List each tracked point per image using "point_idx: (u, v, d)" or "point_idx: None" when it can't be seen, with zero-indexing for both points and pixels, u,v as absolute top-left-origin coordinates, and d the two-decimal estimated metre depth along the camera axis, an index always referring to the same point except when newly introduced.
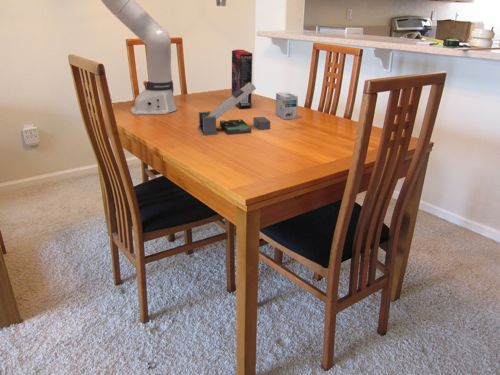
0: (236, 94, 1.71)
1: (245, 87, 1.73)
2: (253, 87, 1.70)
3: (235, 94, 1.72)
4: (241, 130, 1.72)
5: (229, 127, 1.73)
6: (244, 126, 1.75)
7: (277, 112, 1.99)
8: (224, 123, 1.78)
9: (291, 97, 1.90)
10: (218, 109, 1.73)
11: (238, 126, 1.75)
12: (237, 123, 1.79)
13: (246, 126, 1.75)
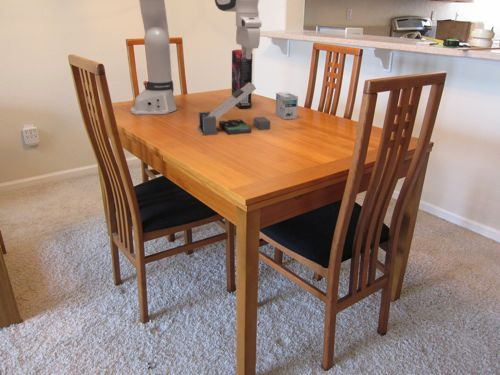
0: (236, 94, 1.71)
1: (245, 87, 1.73)
2: (253, 87, 1.70)
3: (235, 94, 1.72)
4: (241, 130, 1.72)
5: (229, 127, 1.73)
6: (244, 126, 1.75)
7: (277, 112, 1.99)
8: (224, 123, 1.78)
9: (291, 97, 1.90)
10: (218, 109, 1.73)
11: (238, 126, 1.75)
12: (237, 123, 1.79)
13: (246, 126, 1.75)
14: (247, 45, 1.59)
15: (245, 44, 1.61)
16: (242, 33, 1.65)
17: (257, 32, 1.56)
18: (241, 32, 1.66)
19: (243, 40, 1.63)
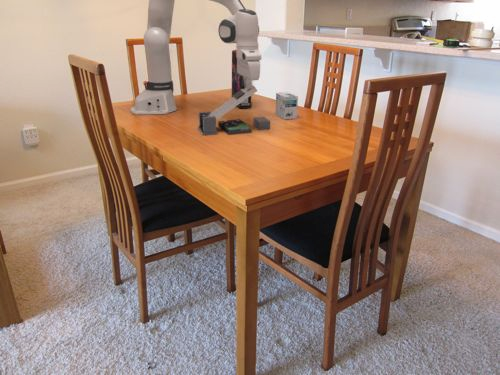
0: (237, 95, 1.72)
1: (246, 89, 1.73)
2: (254, 89, 1.71)
3: (236, 95, 1.72)
4: (242, 130, 1.72)
5: (229, 127, 1.73)
6: (244, 126, 1.75)
7: (277, 112, 1.99)
8: (223, 123, 1.78)
9: (291, 97, 1.90)
10: (218, 109, 1.73)
11: (238, 126, 1.75)
12: (236, 123, 1.79)
13: (246, 126, 1.75)
14: (248, 77, 1.64)
15: (246, 76, 1.66)
16: (243, 64, 1.69)
17: (257, 64, 1.61)
18: (242, 63, 1.71)
19: (244, 71, 1.68)
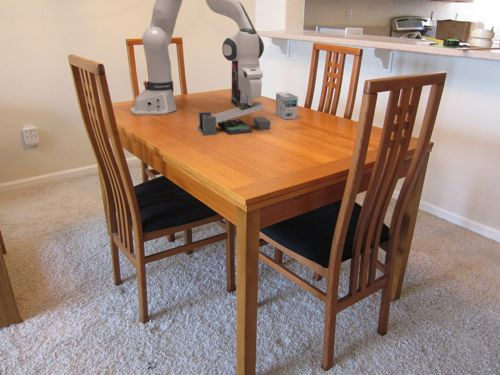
0: (243, 107, 1.74)
1: (253, 104, 1.77)
2: (261, 106, 1.75)
3: (242, 106, 1.75)
4: (242, 130, 1.72)
5: (230, 127, 1.73)
6: (244, 126, 1.75)
7: (277, 112, 1.99)
8: (223, 123, 1.78)
9: (291, 97, 1.90)
10: (221, 114, 1.74)
11: (238, 126, 1.75)
12: (236, 123, 1.79)
13: (246, 126, 1.75)
14: (249, 94, 1.67)
15: (247, 93, 1.69)
16: (244, 82, 1.73)
17: (259, 82, 1.64)
18: (243, 81, 1.74)
19: (245, 89, 1.71)
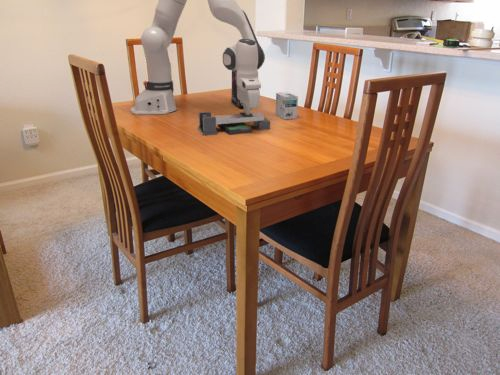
0: (245, 114, 1.76)
1: (255, 114, 1.79)
2: (262, 118, 1.77)
3: (244, 114, 1.76)
4: (242, 130, 1.72)
5: (230, 127, 1.73)
6: (244, 126, 1.75)
7: (277, 112, 1.99)
8: None
9: (291, 97, 1.90)
10: (222, 117, 1.74)
11: (238, 126, 1.75)
12: (236, 123, 1.79)
13: (246, 126, 1.75)
14: (247, 104, 1.69)
15: (246, 103, 1.71)
16: (243, 91, 1.74)
17: (257, 93, 1.65)
18: (242, 90, 1.75)
19: (244, 98, 1.73)
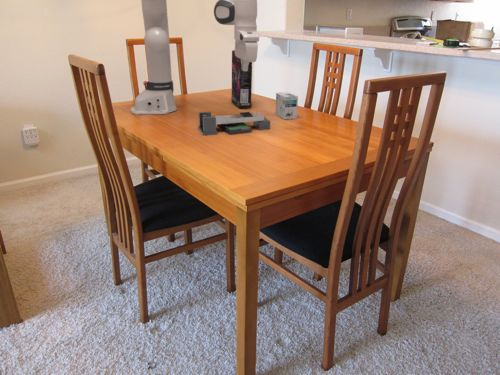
0: (245, 114, 1.76)
1: (255, 114, 1.79)
2: (262, 118, 1.77)
3: (244, 114, 1.76)
4: (243, 130, 1.72)
5: (230, 127, 1.73)
6: (244, 126, 1.75)
7: (277, 112, 1.99)
8: None
9: (291, 97, 1.90)
10: (222, 117, 1.74)
11: (238, 126, 1.75)
12: (235, 123, 1.79)
13: (246, 125, 1.76)
14: (245, 58, 1.62)
15: (243, 57, 1.65)
16: (240, 46, 1.68)
17: (255, 46, 1.59)
18: (239, 45, 1.69)
19: (241, 53, 1.66)
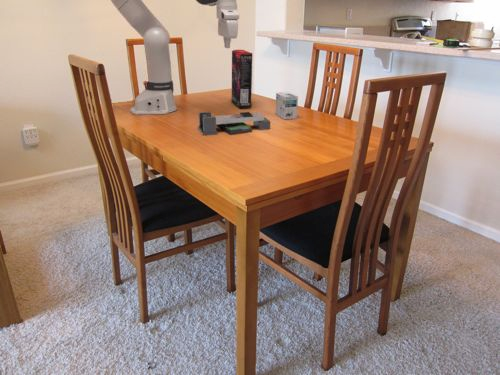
0: (245, 114, 1.76)
1: (255, 114, 1.79)
2: (262, 118, 1.77)
3: (244, 114, 1.76)
4: (243, 130, 1.72)
5: (230, 127, 1.73)
6: (244, 125, 1.76)
7: (277, 112, 1.99)
8: (222, 124, 1.78)
9: (291, 97, 1.90)
10: (222, 117, 1.74)
11: (238, 126, 1.75)
12: (235, 123, 1.79)
13: (246, 125, 1.76)
14: (226, 35, 1.75)
15: (225, 35, 1.77)
16: (222, 25, 1.80)
17: (235, 23, 1.71)
18: (222, 24, 1.81)
19: (223, 31, 1.79)
